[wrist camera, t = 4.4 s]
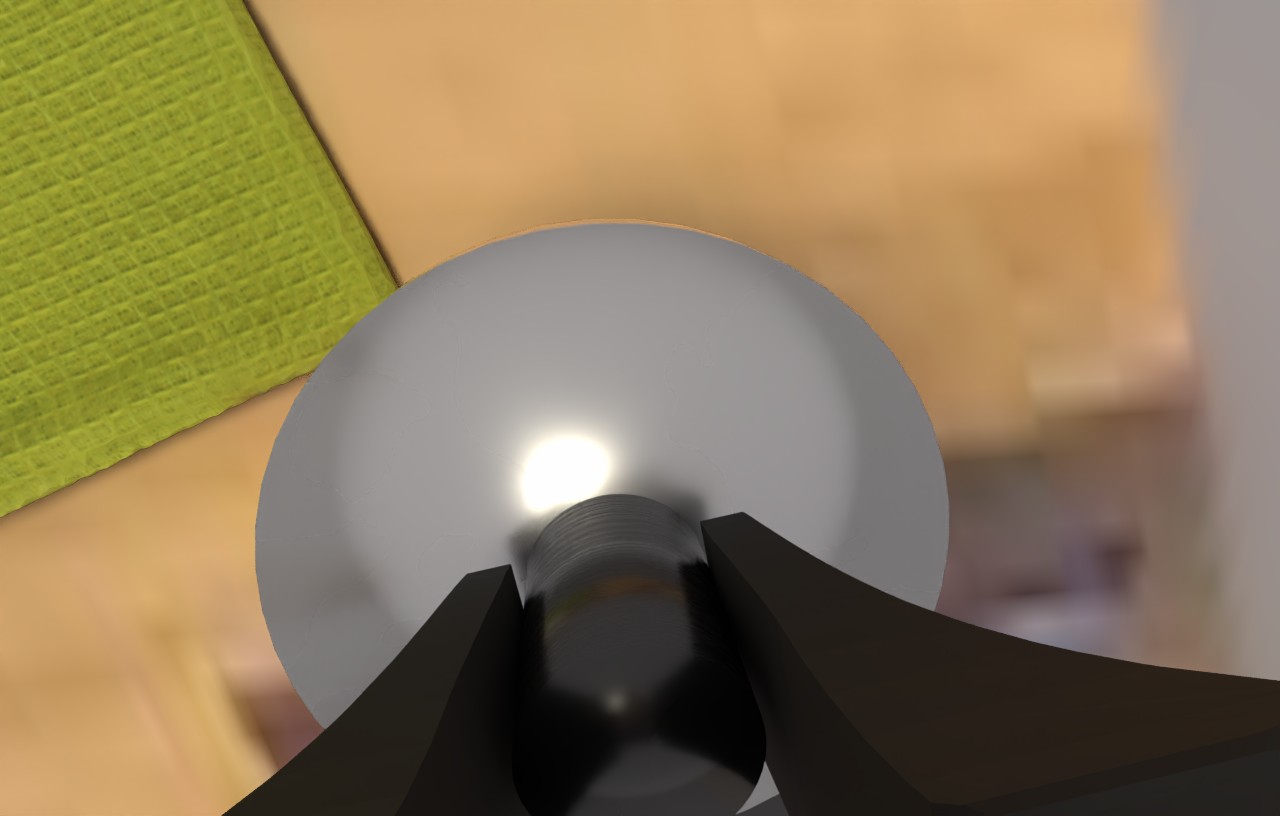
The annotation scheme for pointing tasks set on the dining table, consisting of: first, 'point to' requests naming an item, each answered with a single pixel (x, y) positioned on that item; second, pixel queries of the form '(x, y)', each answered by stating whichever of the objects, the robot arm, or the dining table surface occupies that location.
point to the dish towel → (156, 232)
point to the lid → (594, 492)
